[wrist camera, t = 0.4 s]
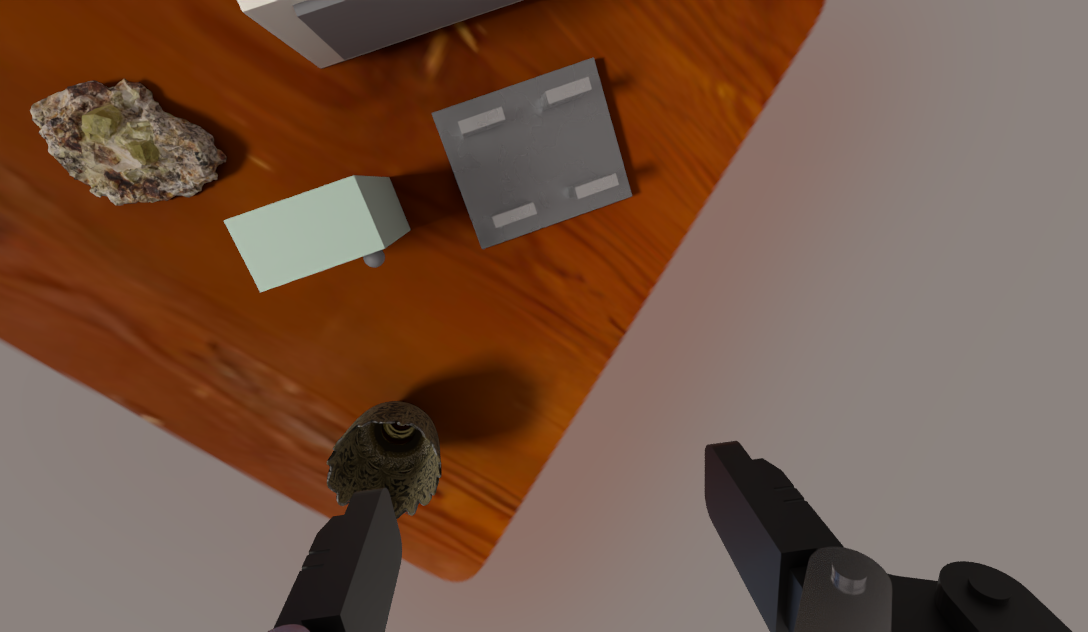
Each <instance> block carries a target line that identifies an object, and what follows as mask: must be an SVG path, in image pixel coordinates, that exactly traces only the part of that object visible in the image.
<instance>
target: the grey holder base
mask: <svg viewBox="0 0 1088 632" xmlns="http://www.w3.org/2000/svg"><path fill="white" fill-rule="evenodd" d="M432 116H433V119H434V121H435V124H436V127H437V129H438V132H439V135H440V137H441V140H442V143H443V145H444V148H445V151H446V154H447V156H448V159H449V162H450V164H451V167H452V170H453V172H454V175H455V178H456V180H457V183H458V186H459V189H460V191H461V194H462V197H463V199H464V202H465V205H466V207H467V210H468V213H469V215H470V218H471V221H472V224H473V226H474V229H475V232H476V234H477V237H478V240H479V242H480V245H481V248H482V249H485V248H487V247H490V246H493V245H496V244H499V243H501V242H504V241H507V240H510V239H513V238H516V237H518V236H521V235H524V234H527V233H530V232H533V231H535V230H538V229H541V228H544V227H547V226H549V225H552V224H555V223H558V222H561V221H564V220H566V219H569V218H572V217H575V216H578V215H580V214H583V213H586V212H589V211H592V210H595V209H597V208H600V207H603V206H606V205H609V204H612V203H614V202H617V201H620V200H623V199H626V198H628V197H631V196H632V193H631V190H630V186H629V182H628V179H627V175H626V172H625V168H624V164H623V161H622V157H621V154H620V150H619V146H618V143H617V139H616V136H615V132H614V128H613V125H612V121H611V118H610V114H609V110H608V107H607V103H606V100H605V96H604V92H603V89H602V85H601V82H600V78H599V74H598V71H597V67H596V64H595V60H594V58H591V59H588V60H585V61H582V62H579V63H576V64H573V65H570V66H568V67H565V68H562V69H559V70H556V71H553V72H550V73H547V74H544V75H541V76H538V77H536V78H533V79H530V80H527V81H524V82H521V83H518V84H515V85H512V86H509V87H506V88H504V89H501V90H498V91H495V92H492V93H489V94H486V95H483V96H480V97H477V98H474V99H472V100H469V101H466V102H463V103H460V104H457V105H454V106H451V107H448V108H445V109H443V110H440V111H437V112H434V113H432Z"/></svg>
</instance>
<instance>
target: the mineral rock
mask: <svg viewBox="0 0 1088 632" xmlns="http://www.w3.org/2000/svg"><path fill="white" fill-rule="evenodd" d="M30 112H31V114H32V117H33V119H32V120H33V121H34V122H35V123H36V124H37V125H38V126H39V127H40V128H41V130H40V131H39V133H40V135H42V137H43V138H45V139H46V141H47V143H48V152H49V153H50V154H51V155H52V156H54V157H55V158H56V159H57V161H58V162H59V163H61V164H62V166H63V167H64V168H65V169H66V170H67V171H68V172H69V174H70V176H72V177H74V179H76V180H80V181H82V182H83V183H85V184H87V185H90V186H91V187H92V188H91V189H90V192H91V193H93V194H94V195H96V196H98V197H101V196H108V198H109V199H110V200H111V202H113V203H114V204H115V205H123V204H126V203H137V202H152V203H153V202H155V201H159V200H166V201H168V200H169V199H171V198H173V197H174V196H176V195H183V196H185V197H191V196H193V195H194V194H196V193H197V192H199V191H201V190H202V186H203V184H204V183H207V182H211V181H212V180H217V177H218V175H217V173H216V172H215V170H216V167H217V166H218V165H219V164H222V163H223V162H226V155H225V154H224V153H223V152H222V151H221V150H219V149H217V148H216V147H215V146H214V138H213V136H212V135H211V134H209V133H208V132H207V131H205V130H204V129H202V128H201V127H200V126H197V125H195V124H193V123H190V122H189V121H188V120H186V119H183V118H177V117H174V116H173V115H171V114H169V113H166V112H164V111H163V110H162V107H161V106H160V105H159V103H158V102H155V101H154V100H153V97H152V92H151V91H149V90H148V89H146V88H145V87H144V86H143V85H142V84H141V83H131V82H128V81H127V80H126V79H123V80H122V81H120V82H119V83H118V84H117V85H116V86H115V87H111V88H108V87H106V86H104V85H103V84H102V83H100V82H97V81H88V82H85V83H80V84H77V85H74V86H69V87H67V89H66V90H64V91H62V92H57V93H55V94H53V95H51V96H48V98H45V99H43V100H41V101H39V102H37V103H34V104H33V105H32V106H31V110H30Z"/></svg>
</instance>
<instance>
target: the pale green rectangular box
mask: <svg viewBox="0 0 1088 632" xmlns="http://www.w3.org/2000/svg"><path fill="white" fill-rule="evenodd" d="M224 222H225V224H226V226H227V228H228V230H229V232H230V234H231V236H232V238H233V240H234V242H235V244H236V246H237V248H238V250H239V252H240V254H241V256H242V258H243V259H244V261H245V263H246V265H247V267H248V269H249V271H250V273H251V275H252V277H253V279H254V281H255V283H256V285H257V287H258V289H259V291H260V292H263V291H266V290H268V289H271V288H274V287H277V286H280V285H283V284H285V283H288V282H291V281H294V280H297V279H300V278H303V277H305V276H308V275H311V274H314V273H317V272H320V271H322V270H325V269H328V268H331V267H334V266H337V265H339V264H342V263H345V262H348V261H351V260H354V259H357V258H359V257H362V256H363V259H364V262H365V263H366V264H367V265H368V266H370V267H379V266H380V265H382V264H383V262H384V260H385V255H384V253H383V251H382V249H385V248H386V247H388V246H389V245H391V244H392V243H393V242H395V241H396V240H398V239H399V238H400V237H402V236H403V235H405V234H406V233H407V232H409V231H410V230H411V229H410V227H409V225H408V222H407V220H406V217H405V215H404V212H403V210H402V207H401V205H400V203H399V200H398V198H397V195H396V193H395V190H394V188H393V185H392V183H391V180H390V178H389V177H374V176H355V175H354V176H351V177H348V178H345V179H342V180H339V181H336V182H333V183H330V184H328V185H325V186H322V187H319V188H316V189H313V190H310V191H307V192H304V193H302V194H299V195H296V196H293V197H290V198H287V199H284V200H281V201H278V202H276V203H273V204H270V205H267V206H264V207H261V208H258V209H255V210H252V211H250V212H247V213H244V214H241V215H238V216H235V217H232V218H229V219H227V220H224Z"/></svg>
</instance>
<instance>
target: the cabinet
mask: <svg viewBox="0 0 1088 632" xmlns="http://www.w3.org/2000/svg"><path fill="white" fill-rule="evenodd" d="M237 1H238V3H239V5H240V7H241V10H242V12H243V13H245V14H246V15H247V16H249V17H250V18H251V19H253V20H254V21H256V22H257V23H258V24H260V25H261V26H263V27H264V28H265V29H267V30H268V31H269V32H271V33H272V34H274V35H275V36H276V37H278V38H279V39H280V40H282V41H283V42H285V43H286V44H287V45H289V46H290V47H292V48H293V49H294V50H296V51H297V52H298V53H300V54H301V55H303V56H304V57H305V58H307V59H308V60H309V61H311V62H312V63H314V64H315V65H316V66H318V67H319V68H324V67H327V66H330V65H333V64H336V63H339V62H342V61H345V60H348V59H351V58H354V57H357V56H360V55H363V54H366V53H369V52H372V51H375V50H377V49H380V48H383V47H386V46H389V45H392V44H395V43H398V42H401V41H404V40H407V39H410V38H413V37H416V36H419V35H422V34H425V33H428V32H431V31H434V30H437V29H439V28H442V27H445V26H448V25H451V24H454V23H457V22H460V21H463V20H466V19H469V18H472V17H475V16H478V15H481V14H484V13H487V12H490V11H493V10H496V9H499V8H502V7H504V6H507V5H510V4H513V3H516V2H519V1H522V0H237Z"/></svg>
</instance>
